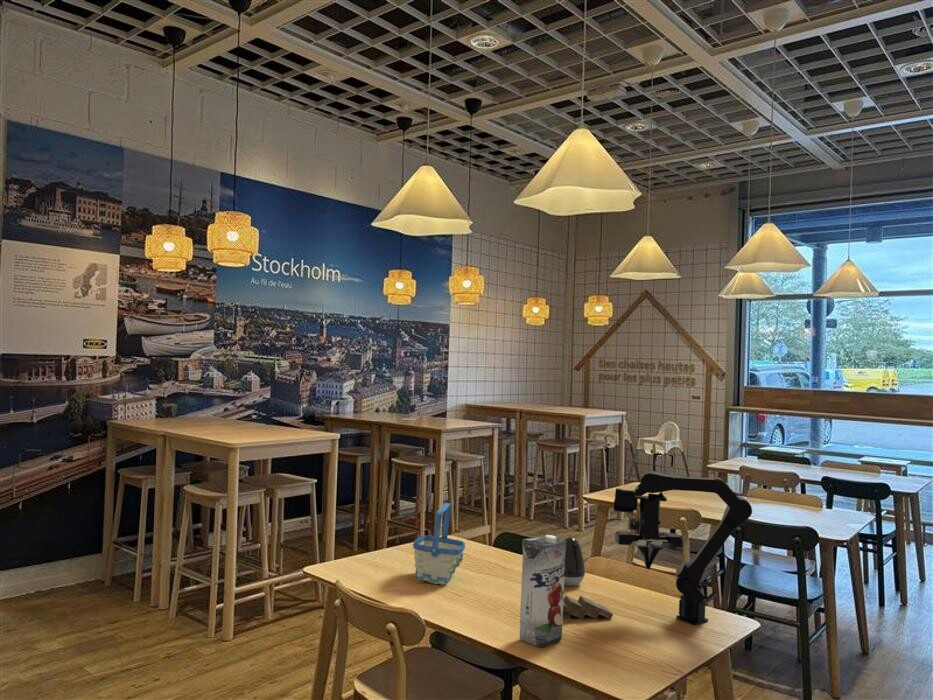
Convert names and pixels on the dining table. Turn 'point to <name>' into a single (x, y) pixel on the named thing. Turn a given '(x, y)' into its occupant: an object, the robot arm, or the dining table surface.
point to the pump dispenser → (573, 563)
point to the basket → (438, 552)
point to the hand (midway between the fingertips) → (647, 568)
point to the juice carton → (542, 590)
